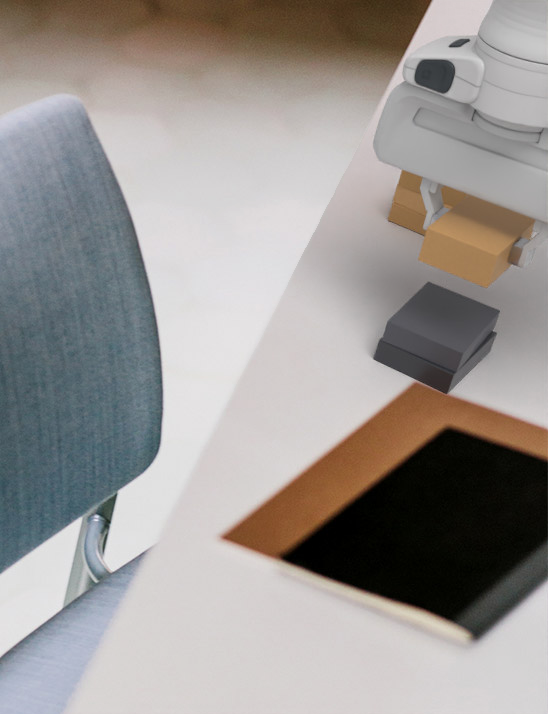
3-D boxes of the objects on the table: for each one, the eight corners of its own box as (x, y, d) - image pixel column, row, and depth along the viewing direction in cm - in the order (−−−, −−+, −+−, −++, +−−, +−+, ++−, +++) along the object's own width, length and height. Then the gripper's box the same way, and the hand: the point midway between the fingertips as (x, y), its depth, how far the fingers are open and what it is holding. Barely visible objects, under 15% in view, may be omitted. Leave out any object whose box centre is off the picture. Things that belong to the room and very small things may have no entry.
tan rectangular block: (525, 252, 98) (537, 219, 96) (486, 288, 93) (497, 255, 91) (459, 226, 101) (469, 194, 99) (417, 260, 96) (427, 227, 94)
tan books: (486, 217, 125) (504, 164, 121) (449, 247, 119) (467, 192, 115) (424, 192, 128) (440, 140, 124) (385, 220, 122) (400, 166, 118)
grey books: (491, 350, 105) (505, 312, 102) (447, 394, 99) (461, 355, 97) (417, 317, 108) (430, 279, 106) (370, 357, 102) (382, 318, 100)
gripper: (681, 114, 85) (612, 280, 94) (422, 32, 94) (382, 190, 103) (653, 140, 81) (584, 311, 90) (386, 52, 90) (347, 215, 99)
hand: (474, 246), depth 97 cm, fingers closed on tan rectangular block, 6 cm apart
